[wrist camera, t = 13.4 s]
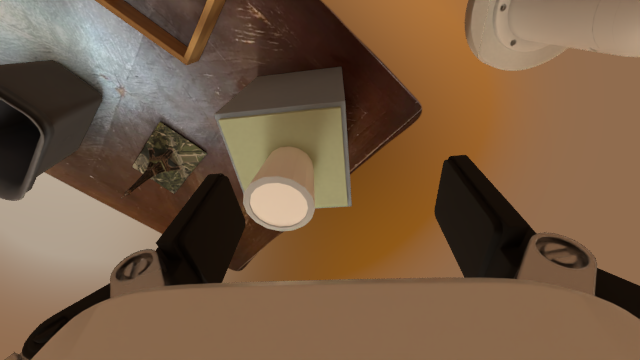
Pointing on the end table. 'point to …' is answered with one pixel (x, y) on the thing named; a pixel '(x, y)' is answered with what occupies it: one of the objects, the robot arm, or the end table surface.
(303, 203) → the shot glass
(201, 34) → the wooden frame
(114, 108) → the end table surface
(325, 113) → the mat
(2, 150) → the storage bin
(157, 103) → the end table surface
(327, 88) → the block
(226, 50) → the end table surface
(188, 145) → the eiffel tower figurine
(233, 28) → the end table surface
